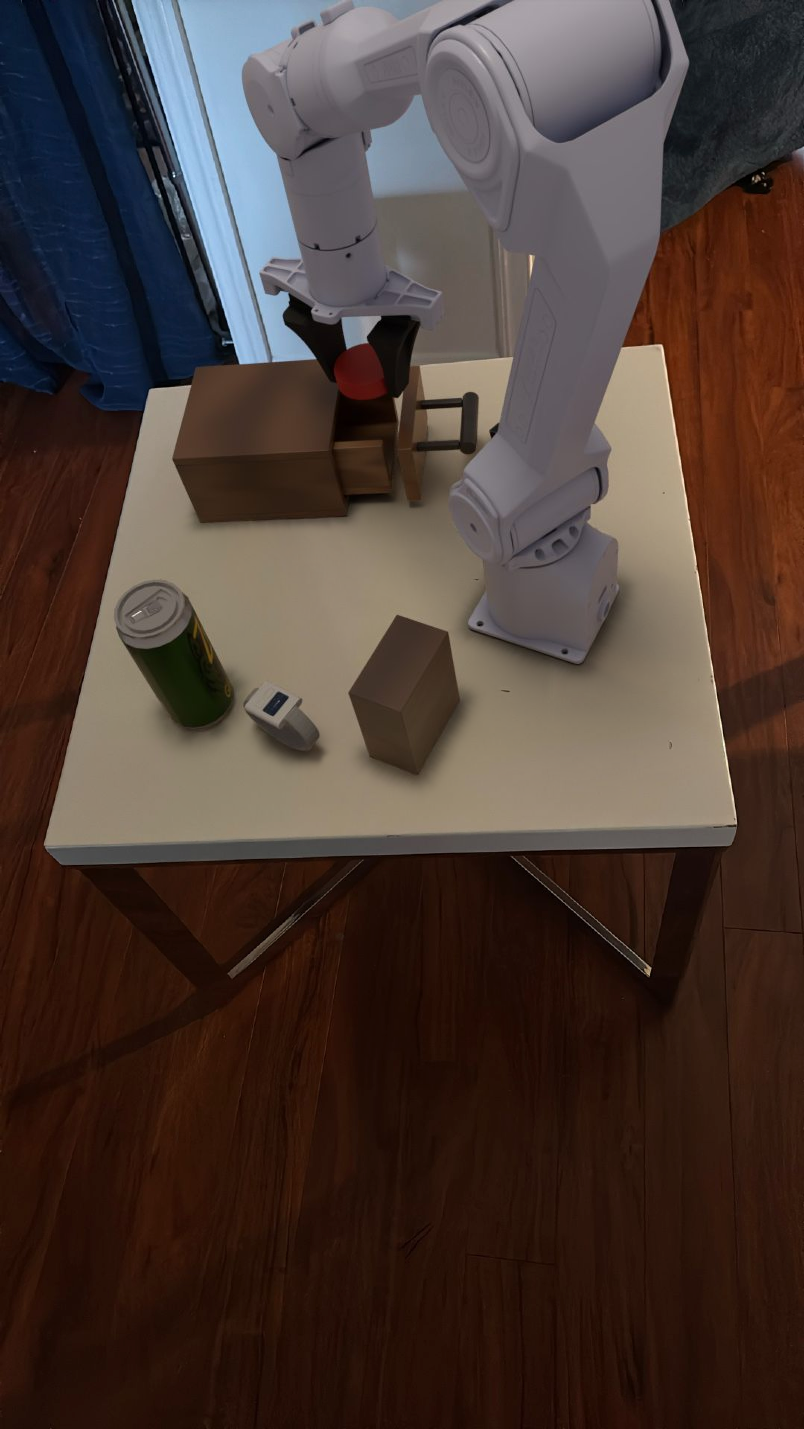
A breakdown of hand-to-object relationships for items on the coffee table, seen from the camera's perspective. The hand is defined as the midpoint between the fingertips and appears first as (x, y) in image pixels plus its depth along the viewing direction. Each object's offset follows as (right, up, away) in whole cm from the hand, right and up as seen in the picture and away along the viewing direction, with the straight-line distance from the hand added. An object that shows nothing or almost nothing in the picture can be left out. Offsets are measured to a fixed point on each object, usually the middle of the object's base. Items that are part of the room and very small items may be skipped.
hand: (368, 381), depth 83 cm
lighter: (+14, -5, +6) cm, 16 cm away
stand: (+4, -28, -7) cm, 29 cm away
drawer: (+1, -5, +7) cm, 9 cm away
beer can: (-13, -26, -3) cm, 29 cm away
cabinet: (-8, -5, +9) cm, 13 cm away
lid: (0, 0, 0) cm, 0 cm away
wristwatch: (-6, -29, -6) cm, 30 cm away
